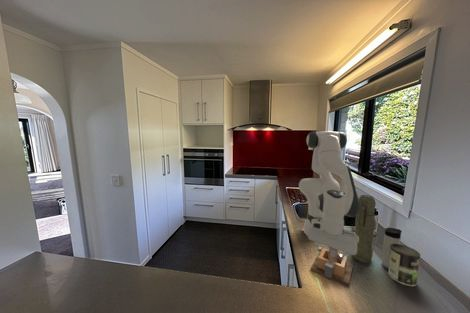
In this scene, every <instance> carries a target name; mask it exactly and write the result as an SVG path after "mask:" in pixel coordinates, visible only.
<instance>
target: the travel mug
mask: <svg viewBox="0 0 470 313" xmlns="http://www.w3.org/2000/svg"><path fill="white" fill-rule="evenodd" d="M401 235H402V230H401V229H399V228H393V227H386V228H384V237H383V247H382V256H381V266H383V267H384V268H385V269H387V270H388V269H389V258H390V245H391V244H400V245H401V238H402V237H401Z"/></svg>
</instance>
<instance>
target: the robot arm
mask: <svg viewBox="0 0 470 313" xmlns="http://www.w3.org/2000/svg"><path fill="white" fill-rule="evenodd" d="M305 141H306V145H307V146H308V148H310V149H313V152H312V153H313V154H312V161H311V170H312V171H313V172H314V173H316V174H317V175H319V178H318V177H317V178H313V177H307V178H302V179H300V181H299V183H298V189H299V191H300V193H302V194H303V196H304V197H305V198H306V200H307V203H308V208H307V209H308V210H307V215H306V216H307V217H306V219H305V220H304V226H303V228H301V232H303V231H304V232H303V233H304V234H306V235H305V236H307V238H308V240H309V241H312V242H315V243H314V244H315V246H316V250H317V252H318V253H321V252H322V246H320V245H323V246H327V247H328V248H329V247H332V248H335V249H338V251H341V252H342V253H340V260H344V257H345V256H347V255H348V254H349V255H352V256H353V255H355V254H357V243H359V236H358V235H357V234H355V232H353V231H350V230H346V229H344V228H345V219H344V218H345V217H351V218H356V216H357V215H358V214H359V213H360V212H361V204H360V201H359V198H360V197H358V193H357V189H356V186H355V182H354V181H355V180H354V176H353V173H352V171H351V167H350V166H349V164H347V163H346V162H345V161H344V160H343V158H342V149H344V148H345V147H346V145H347V143H348V138H347V134H346V133H345V132H341V131H334V130H333V131H332V130H325V131H323V130H322V131H320V130H319V131H315V130H314V131H310V132H309V133H308V134H307V136H306V139H305ZM332 174H334V175H336V176H338V177H340V179H341V181H342V182H343V188H344V192H345V193H343V192H342V191H340V190H341V186H340V184H339V182H338V181H337V180H336V179H335V178H334V177H333V175H332ZM356 235H357V236H356ZM342 254H343V255H342Z"/></svg>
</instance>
